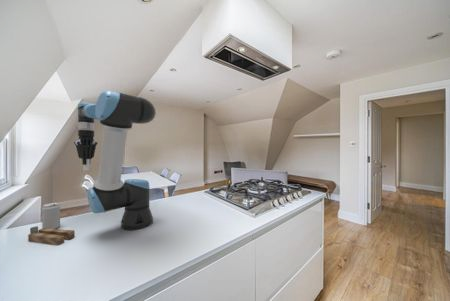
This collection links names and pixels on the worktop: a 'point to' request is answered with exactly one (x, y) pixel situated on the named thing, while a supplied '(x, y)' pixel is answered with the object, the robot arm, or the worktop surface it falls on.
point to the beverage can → (51, 216)
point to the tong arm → (58, 232)
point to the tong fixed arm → (44, 237)
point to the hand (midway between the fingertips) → (86, 170)
